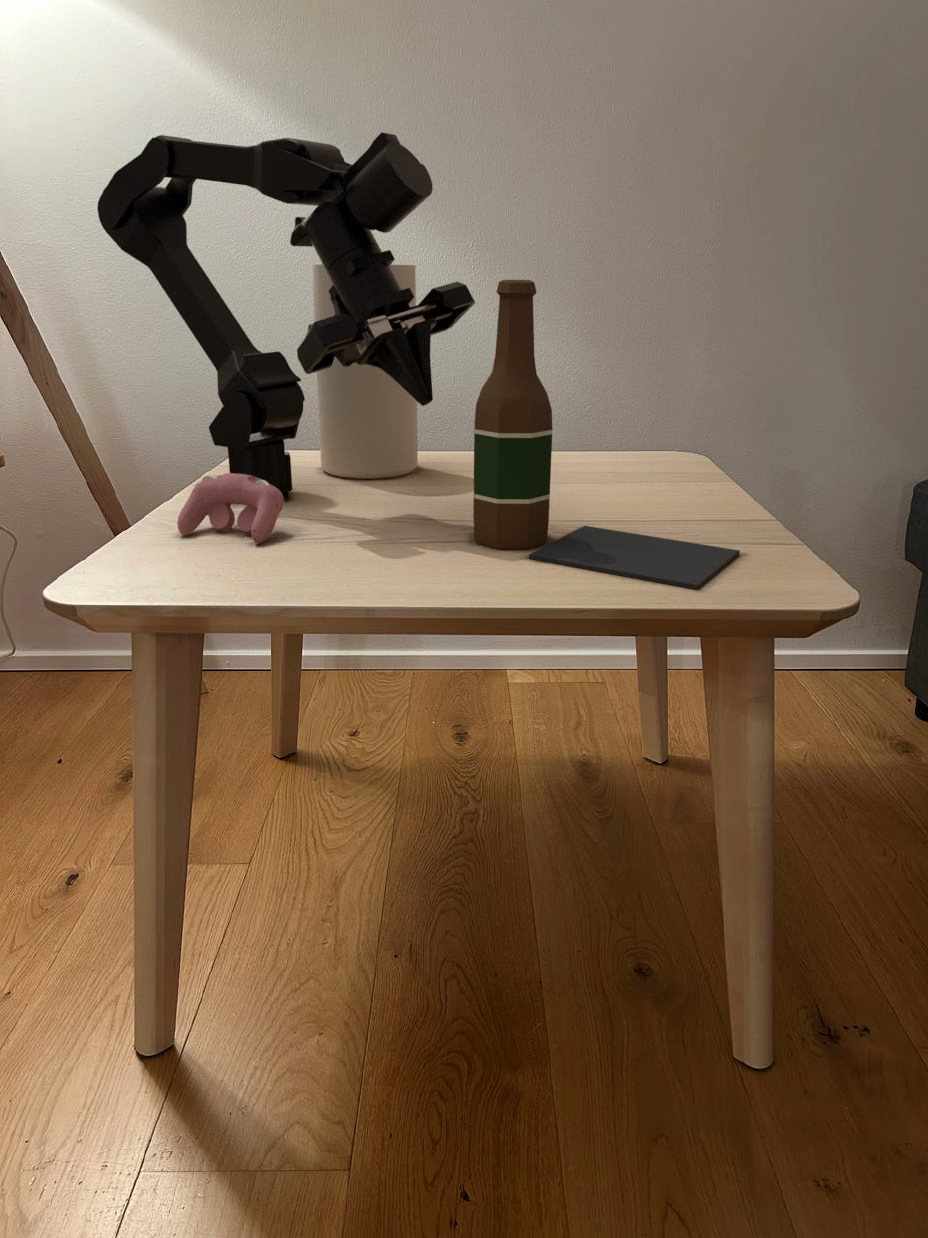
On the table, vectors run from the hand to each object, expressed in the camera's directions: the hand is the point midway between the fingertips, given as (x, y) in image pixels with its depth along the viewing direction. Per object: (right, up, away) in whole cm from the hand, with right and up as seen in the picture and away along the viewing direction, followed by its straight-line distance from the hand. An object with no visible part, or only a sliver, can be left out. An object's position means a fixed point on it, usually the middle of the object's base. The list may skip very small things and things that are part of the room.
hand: (427, 403), depth 93 cm
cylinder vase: (-9, -2, +30) cm, 31 cm away
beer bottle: (+8, -14, 0) cm, 16 cm away
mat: (+19, -15, -5) cm, 25 cm away
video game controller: (-19, -13, +1) cm, 23 cm away
